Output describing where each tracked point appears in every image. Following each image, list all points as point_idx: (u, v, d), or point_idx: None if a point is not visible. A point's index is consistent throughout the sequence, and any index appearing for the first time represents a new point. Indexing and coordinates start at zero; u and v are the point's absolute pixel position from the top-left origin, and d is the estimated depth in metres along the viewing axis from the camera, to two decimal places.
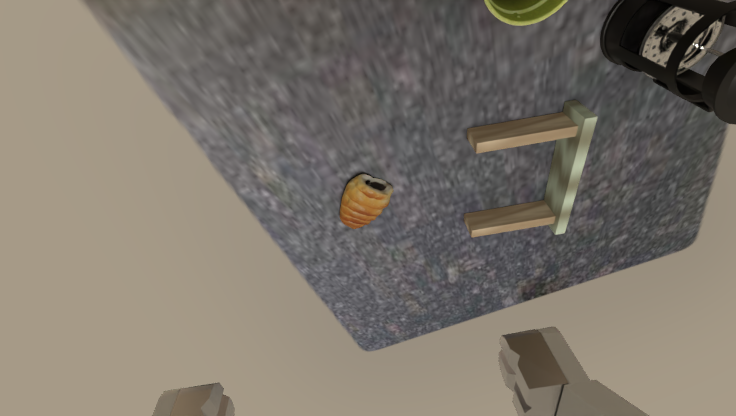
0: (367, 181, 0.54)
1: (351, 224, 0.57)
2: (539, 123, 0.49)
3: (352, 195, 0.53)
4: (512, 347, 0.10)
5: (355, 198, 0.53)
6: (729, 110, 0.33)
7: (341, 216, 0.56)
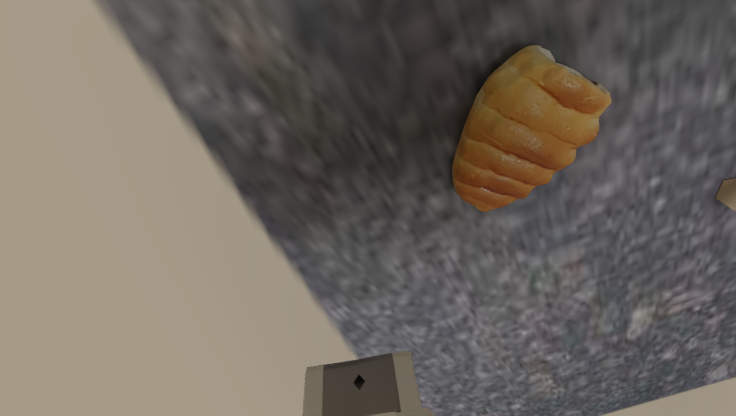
0: None
1: (485, 197, 0.22)
2: None
3: (509, 103, 0.19)
4: (361, 372, 0.10)
5: (519, 111, 0.18)
6: None
7: (461, 176, 0.22)
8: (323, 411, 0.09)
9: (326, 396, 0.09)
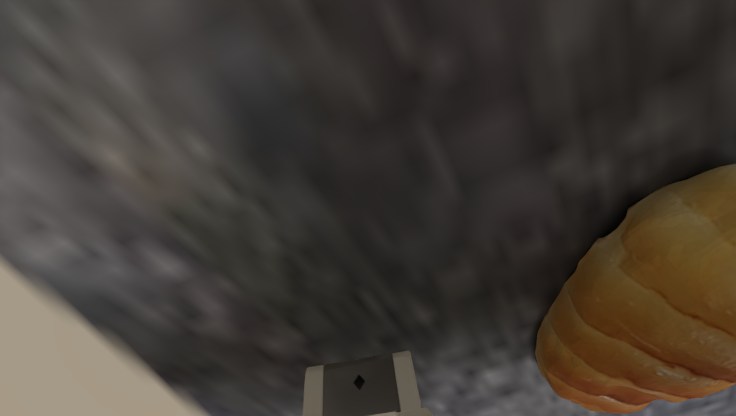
0: None
1: (603, 404, 0.13)
2: None
3: (693, 289, 0.09)
4: (361, 372, 0.10)
5: (715, 305, 0.09)
6: None
7: (562, 372, 0.12)
8: (323, 411, 0.09)
9: (326, 396, 0.09)
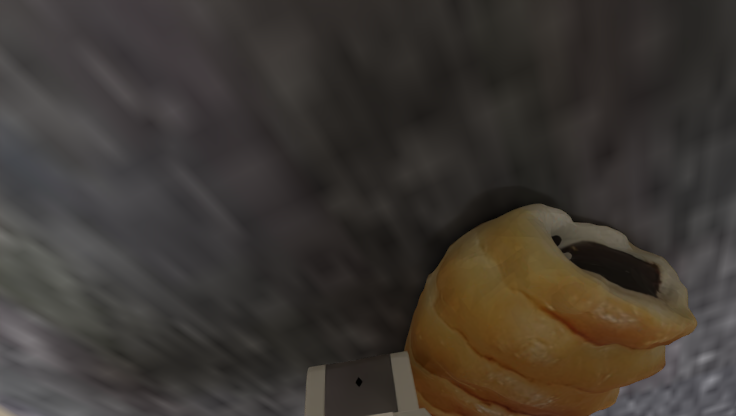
0: None
1: None
2: None
3: (483, 332, 0.09)
4: (358, 372, 0.10)
5: (504, 348, 0.09)
6: None
7: None
8: (325, 410, 0.09)
9: (328, 396, 0.09)
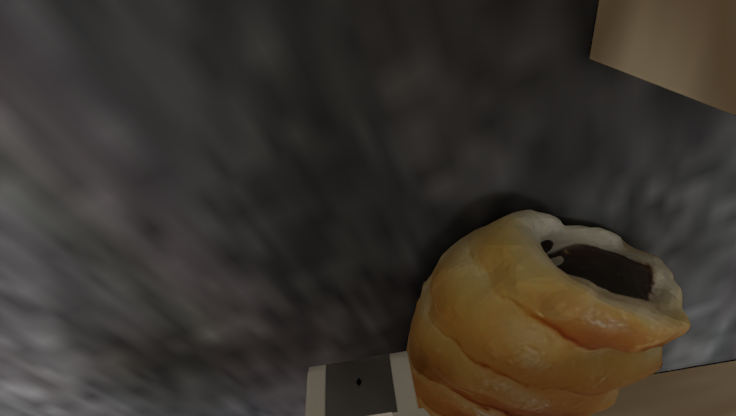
0: (541, 247, 0.10)
1: None
2: None
3: (476, 340, 0.09)
4: (358, 372, 0.10)
5: (498, 355, 0.09)
6: None
7: None
8: (326, 410, 0.09)
9: (329, 395, 0.09)
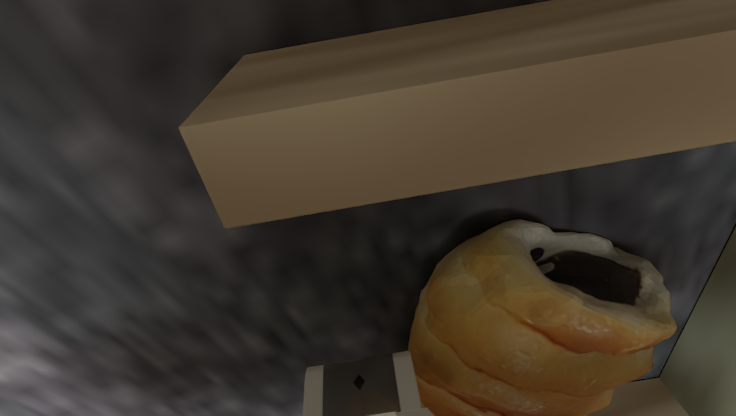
0: (532, 254, 0.11)
1: None
2: None
3: (470, 346, 0.10)
4: (361, 372, 0.10)
5: (491, 360, 0.10)
6: None
7: None
8: (323, 411, 0.09)
9: (326, 396, 0.09)
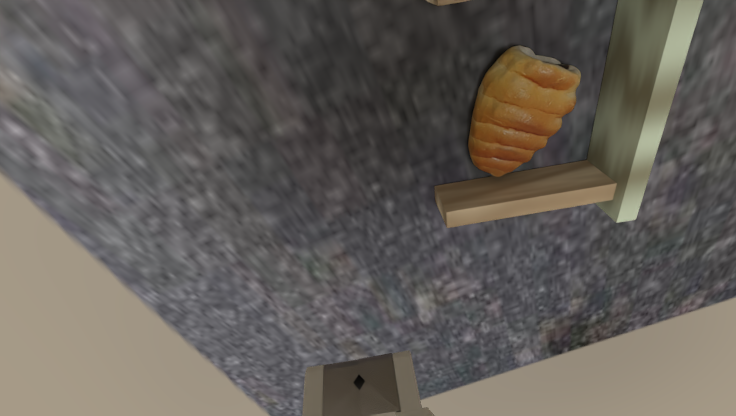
0: None
1: (497, 164, 0.29)
2: None
3: (502, 91, 0.25)
4: (361, 372, 0.10)
5: (510, 95, 0.25)
6: None
7: (475, 151, 0.28)
8: (323, 411, 0.09)
9: (326, 396, 0.09)
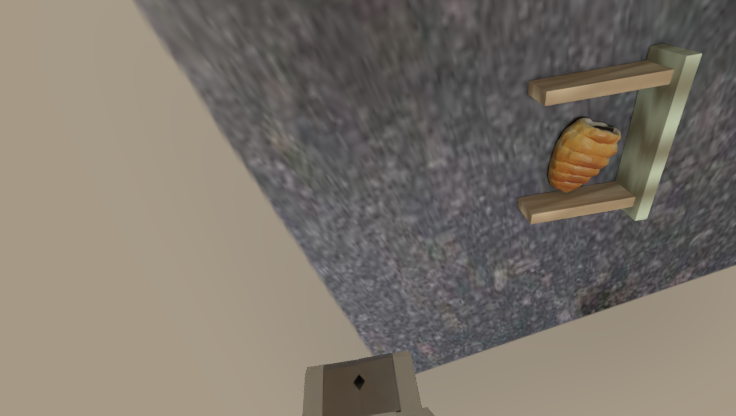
0: None
1: (567, 185, 0.47)
2: (621, 70, 0.40)
3: (575, 145, 0.43)
4: (361, 372, 0.10)
5: (580, 147, 0.43)
6: None
7: (554, 177, 0.47)
8: (323, 411, 0.09)
9: (326, 396, 0.09)
